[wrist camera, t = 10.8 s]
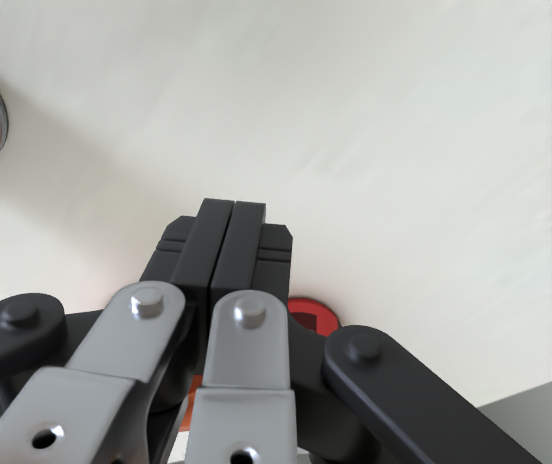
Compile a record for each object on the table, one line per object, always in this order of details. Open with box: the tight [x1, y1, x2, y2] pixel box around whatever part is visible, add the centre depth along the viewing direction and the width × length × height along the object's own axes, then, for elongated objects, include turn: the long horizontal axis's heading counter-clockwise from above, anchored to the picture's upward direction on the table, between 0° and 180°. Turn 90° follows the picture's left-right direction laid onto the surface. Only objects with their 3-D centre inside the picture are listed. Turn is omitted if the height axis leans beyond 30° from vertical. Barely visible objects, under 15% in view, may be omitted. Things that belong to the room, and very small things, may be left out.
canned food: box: [288, 299, 341, 454], centre depth 44 cm, size 8×8×11 cm
